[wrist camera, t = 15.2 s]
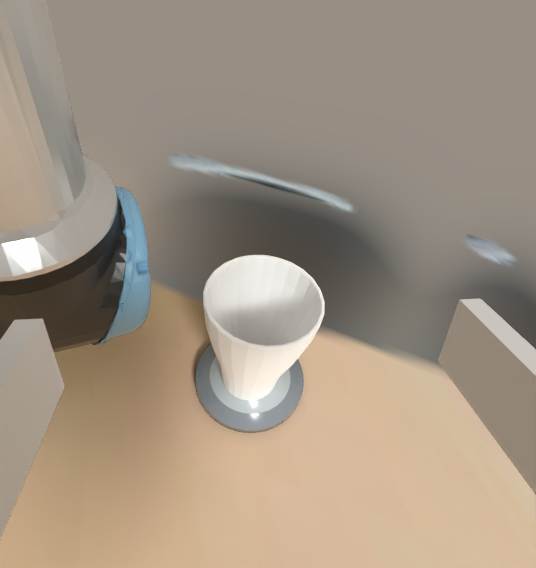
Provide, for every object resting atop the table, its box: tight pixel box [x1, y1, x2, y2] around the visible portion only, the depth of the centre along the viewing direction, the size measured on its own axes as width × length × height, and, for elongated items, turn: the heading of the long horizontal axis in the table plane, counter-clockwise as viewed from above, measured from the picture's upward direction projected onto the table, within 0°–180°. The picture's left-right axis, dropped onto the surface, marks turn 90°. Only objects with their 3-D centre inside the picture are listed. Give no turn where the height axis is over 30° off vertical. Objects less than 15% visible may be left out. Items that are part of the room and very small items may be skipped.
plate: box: [196, 344, 304, 433], centre depth 44 cm, size 12×12×1 cm
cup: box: [203, 255, 324, 401], centre depth 38 cm, size 10×10×14 cm
